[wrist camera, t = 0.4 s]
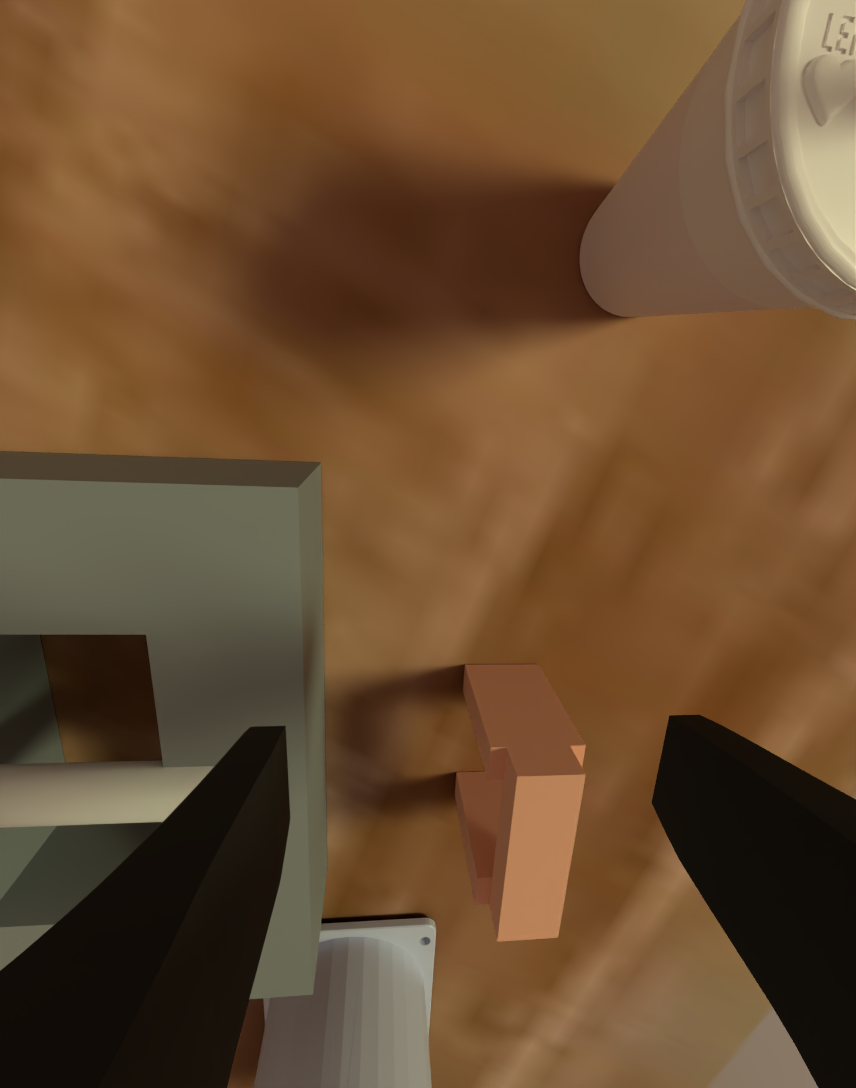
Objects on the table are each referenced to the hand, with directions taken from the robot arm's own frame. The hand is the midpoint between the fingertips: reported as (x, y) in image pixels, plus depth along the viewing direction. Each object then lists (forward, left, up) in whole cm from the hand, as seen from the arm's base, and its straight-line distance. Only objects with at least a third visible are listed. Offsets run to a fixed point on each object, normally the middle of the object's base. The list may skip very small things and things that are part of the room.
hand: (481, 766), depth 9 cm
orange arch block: (-7, -3, -10) cm, 12 cm away
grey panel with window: (-5, +11, -10) cm, 15 cm away
